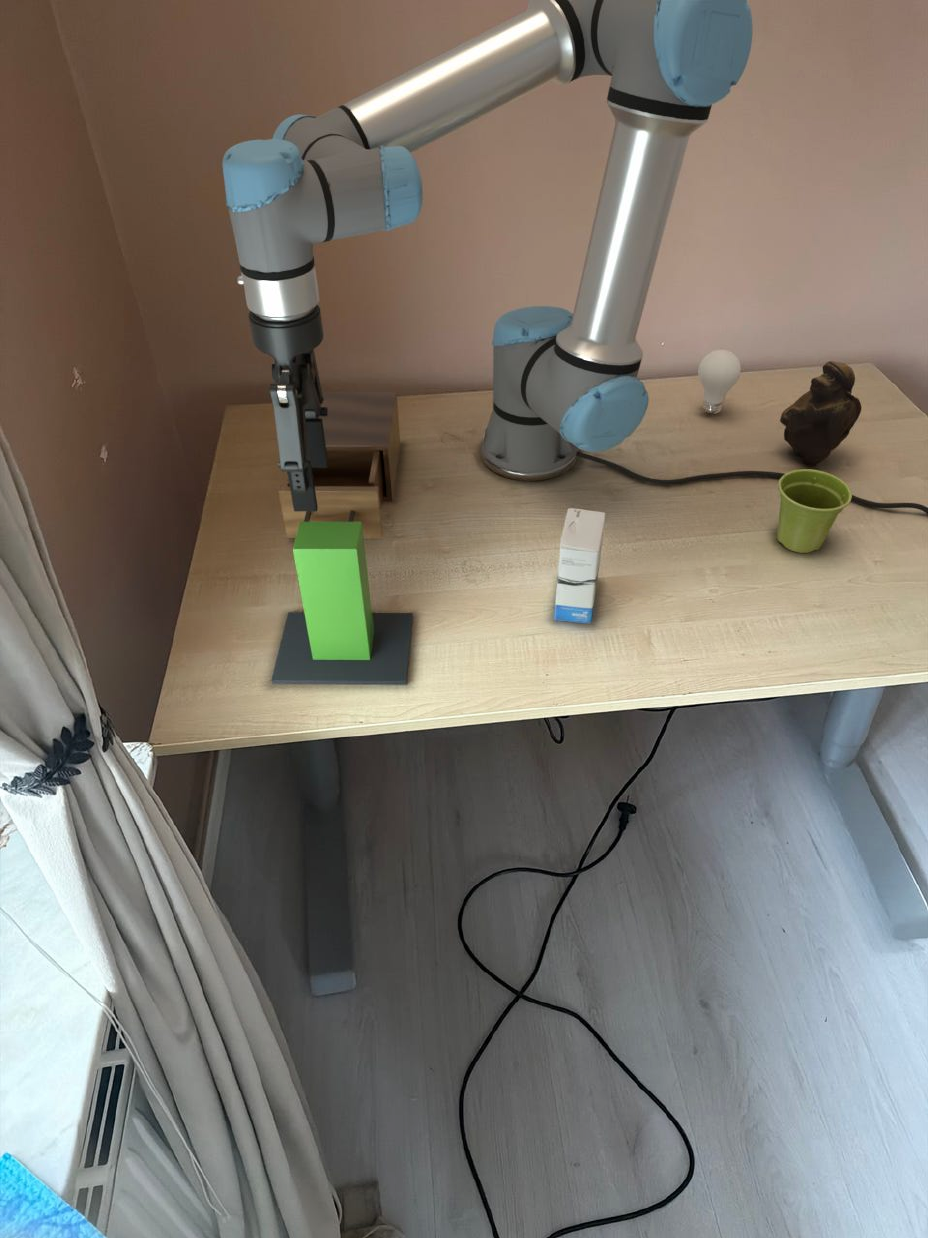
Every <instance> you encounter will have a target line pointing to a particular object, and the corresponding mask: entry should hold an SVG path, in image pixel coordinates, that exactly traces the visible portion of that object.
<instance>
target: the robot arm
mask: <svg viewBox="0 0 928 1238" xmlns="http://www.w3.org/2000/svg"><path fill="white" fill-rule="evenodd" d="M753 27H754V25H753V17H752V10H751V7H750V4H749V3H748V2H747V0H529V1H528V5H527V8H526V11H524V12H522V13H520V14H518V15H516V16H514V17H512V18H510V19H508V20H506V21H504V22H503V23H500V24H499V25H496V26H494V27H493V28H491V29H489V30H487V31H484V32H482V33H481V34H479V35H477V36H475V37H473V38H471V39H469V40H467V41H465V42H463V43H461V44H460V45H458V46H455V47H454V48H452V49H449V50H447V51H446V52H444V53H441V54H440V55H438V56H436V57H434V58H432V59H430V60H428V61H426V62H424V63H422V64H420V65H419V66H416V67H414V68H413V69H410V70H409V71H406V72H405V73H403V74H401V75H399V76H396V77H395V78H393V79H391V80H389V81H386V82H385V83H382V84H381V85H379V86H377V87H375V88H373V89H371V90H370V91H368V92H366V93H364V94H362V95H360V96H357V97H356V98H354V99H352V100H350V101H348V102H345V103H344V104H341V105H339V106H337V107H335V108H332V109H330V110H328V111H326V112H325V113H322V114H321V115H318V116H315V115H309V114H294V115H291V116H289V117H286V118H285V119H283V121H281V122H280V123H279V125H278V126H277V127H276V129H275V131H274V133H273V136H272V138H269V139H268V138H267V139H251V140H245V141H242V142H239V143H237V144H235V145H233V146H231V147H229V148H228V149H227V150H226V151H225V153H224V155H223V157H222V173H223V183H224V190H225V204H226V207H227V209H228V214H229V219H230V224H231V228H232V232H233V237H234V243H235V247H236V252H237V258H238V263H239V264H238V265H239V268H240V275H238V276H237V280H236V282H237V284H238V286H243V288H244V295H245V301H246V307H247V309H248V310H249V312H248V321H249V327H250V330H251V331H250V332H251V337H252V343H253V345H254V347H255V348H256V349H257V350H258V351H259V352H261V353H262V354H266V355H268V356H270V357H272V359H274V363H271V378H272V380H273V381H274V383H270V385H269V389H268V390H269V393H270V397H271V402H272V406H273V414H274V423H275V431H276V438H277V448H278V455H279V461H278V462H277V467H278V468H280V471H281V472H286V473H287V480H288V479H289V485H290V491H291V496H292V502H293V508H294V511H317V509H318V506H317V499H316V493H315V486H314V480H313V473H312V468H328V458H327V451H326V443H325V436H324V429H323V422H322V419H319V418H318V416H328V408H327V407H321V405H320V404H323V401H324V398H323V396H322V392H323V391H322V385H321V381H320V375H319V371H318V364H317V359H316V354H315V349H316V348H318V347H319V346H320V345H321V344H322V342H323V340H324V328H323V319H322V312H321V308H320V306H319V305H318V304H319V303H320V293H319V285H318V277H317V270H316V264H315V256H314V245H316V244H321V243H327V242H330V241H337V240H341V239H345V238H346V239H347V238H352V237H356V236H362V235H363V236H364V235H368V234H372V233H373V234H375V233H378V232H384V231H385V232H390V231H391V230H392V229H393V230H394V229H397V228H400V227H403V226H407V225H409V224H410V225H411V224H412V223H414V222H415V221H416V220H417V219H418V217H419V216H420V214H421V211H422V208H423V200H424V199H423V198H424V195H423V181H422V175H421V173H420V169H419V166H418V163H417V162H416V159H415V157H414V156H413V154H414V153H415V152H417V151H419V150H421V149H423V148H425V147H427V146H429V145H431V144H433V143H435V142H437V141H439V140H440V139H442V138H444V137H447V136H448V135H450V134H452V133H454V132H456V131H458V130H460V129H462V128H464V127H466V126H468V125H469V124H471V123H473V122H475V121H477V120H479V119H482V118H484V117H485V116H486V115H487V116H488V115H490V114H492V113H493V112H495V111H497V110H498V109H500V108H502V107H504V106H507V105H508V104H510V103H512V102H514V101H516V100H518V99H520V98H522V97H523V96H527V94H529V93H531V92H533V91H535V90H537V89H539V88H541V87H543V86H546V85H547V84H548V83H549V84H550V83H551V84H553V85H555V86H559V87H563V86H565V85H568V84H569V83H571V82H573V81H575V80H578V79H580V78H584V77H591V76H609V77H610V83H609V87H608V91H607V97H606V104H607V106H608V108H609V110H610V112H611V113H612V115H613V117H614V127H613V132H612V137H611V142H610V146H609V151H608V156H607V160H606V165H605V169H604V173H603V177H602V182H601V187H600V192H599V195H598V199H597V205H596V209H595V214H594V218H593V223H592V228H591V232H590V236H589V241H588V245H587V250H586V254H585V259H584V265H583V269H582V273H581V278H580V282H579V285H578V291H577V296H576V300H575V303H574V309H573V312H572V311H570V310H568V309H565V308H562V307H558V306H551V305H535V306H526V307H521V308H516V309H513V310H510V311H507V312H506V313H503V314H502V315H501V316H500V317H499V318H498V319H497V320H496V321H495V324H494V326H493V327H494V328H493V334H492V335H493V337H492V356H493V357H492V411H491V414H490V417H489V420H488V423H487V424H485V425H484V428H483V436H482V439H481V443H480V444H481V445H480V456H481V461H482V462H483V464H484V465H485V466H486V468H488V469H489V470H490V471H492V472H494V473H495V474H497V475H499V476H502V477H504V478H508V479H511V480H517V481H525V482H535V481H545V480H550V479H554V478H556V477H559V476H562V475H564V474H566V473H567V472H569V471H570V470H571V469H572V468H573V467H574V466H575V465H576V463H577V460H578V458H582V459H584V460H588V461H590V462H591V461H592V462H594V463H598V464H600V465H602V466H603V465H604V466H607V467H609V468H611V469H614V470H617V471H618V472H621V473H623V474H625V475H627V476H629V477H631V478H632V479H633V478H634V479H636V480H638V481H641V482H644V483H649V484H653V485H660V486H661V485H663V486H664V485H665V486H668V485H671V486H672V485H680V484H686V483H692V482H697V481H703V480H704V481H705V480H712V479H725V478H733V477H734V478H735V477H750V476H751V477H771V478H779V479H780V478H781V477H782V476H783V475H784V474H785V473H784V472H776V471H764V470H762V471H761V470H739V471H728V472H719V473H708V474H698V475H693V476H687V477H683V478H675V479H658V478H653V477H652V478H651V477H647V476H645V475H644V476H643V475H641V474H638V473H636V472H634V471H632V470H629V469H628V468H626V467H624V466H622V465H619V464H618V463H615V462H613V461H609V460H606V459H603V458H601V457H598V456H594V455H591V454H588V453H600V452H605V451H608V450H611V449H613V448H615V447H617V446H618V445H621V444H622V443H623V441H624V440H625V439H627V438H629V437H630V436H632V434H633V433H634V432H635V431H636V430H637V428H638V427H639V426H640V424H641V422H642V421H643V419H644V417H645V415H646V412H647V410H648V406H649V393H648V390H647V389H646V386H645V384H644V382H643V381H641V380H640V378H638V375H639V370H640V368H641V363H642V360H643V355H644V351H643V349H642V346H640V344H639V342H638V340H637V334H638V330H639V327H640V322H641V319H642V316H643V315H642V314H643V311H644V308H645V304H646V300H647V298H648V297H647V296H648V292H649V290H650V285H651V282H652V278H653V275H654V271H655V267H656V262H657V259H658V256H659V252H660V248H661V244H662V241H663V237H664V232H665V229H666V225H667V221H668V219H669V215H670V211H671V207H672V204H673V199H674V195H675V192H676V188H677V185H678V181H679V177H680V174H681V169H682V166H683V163H684V159H685V155H686V151H687V148H688V143H689V140H690V137H691V135H692V134H693V133H694V132H696V131H697V130H698V129H700V128H701V127H703V126H704V125H705V124H707V123H708V120H709V117H710V114H711V110H712V106H713V104H716V103H718V102H719V101H722V100H723V99H725V98H726V97H727V96H728V95H729V94H730V93H731V88H732V86H736V85H737V84H738V83H739V81H740V80H741V78H742V76H743V74H744V71H745V70H746V67H747V64H748V61H749V58H750V54H751V50H752V43H753V32H754V31H753V29H754V28H753ZM579 450H581V451H584V452H587V453H584V452H581V451H579ZM851 501H853V502H855V503H858V504H860V505H863V506H868V507H870V508H871V507H872V508H877V509H878V508H879V509H917V510H918V511H919V510H920V511H921V512H924V513H925V514H926V515H928V506H925V505H923V504H920V503H915V502H890V503H889V502H888V503H887V502H877V501H871V500H868V499H865V498H861V497H858V496H856V495H854V494H852V498H851Z"/></svg>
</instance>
